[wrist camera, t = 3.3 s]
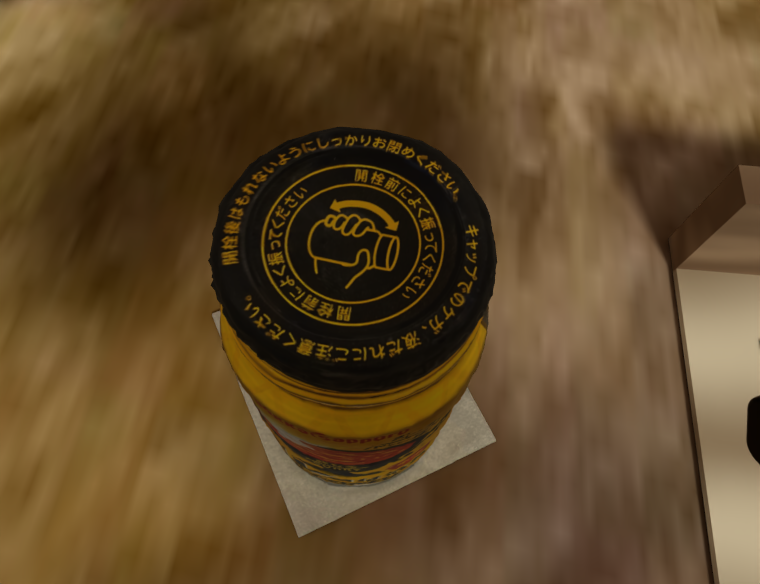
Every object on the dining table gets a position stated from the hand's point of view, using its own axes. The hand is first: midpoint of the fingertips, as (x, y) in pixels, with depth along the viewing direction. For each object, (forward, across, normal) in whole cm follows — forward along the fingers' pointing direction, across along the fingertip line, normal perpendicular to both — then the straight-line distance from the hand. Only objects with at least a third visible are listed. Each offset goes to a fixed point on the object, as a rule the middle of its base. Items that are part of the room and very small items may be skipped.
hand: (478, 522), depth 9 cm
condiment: (+13, 0, +5) cm, 14 cm away
